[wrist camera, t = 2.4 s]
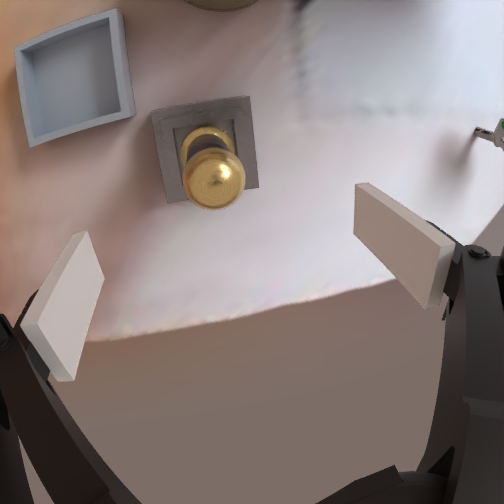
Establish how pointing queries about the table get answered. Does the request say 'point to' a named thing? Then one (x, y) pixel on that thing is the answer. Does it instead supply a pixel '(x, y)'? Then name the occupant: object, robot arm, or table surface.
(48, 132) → the tray
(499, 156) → the table surface
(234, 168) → the strut
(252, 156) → the recessed square block
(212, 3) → the can
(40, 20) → the table surface
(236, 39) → the table surface
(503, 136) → the mechanical component
